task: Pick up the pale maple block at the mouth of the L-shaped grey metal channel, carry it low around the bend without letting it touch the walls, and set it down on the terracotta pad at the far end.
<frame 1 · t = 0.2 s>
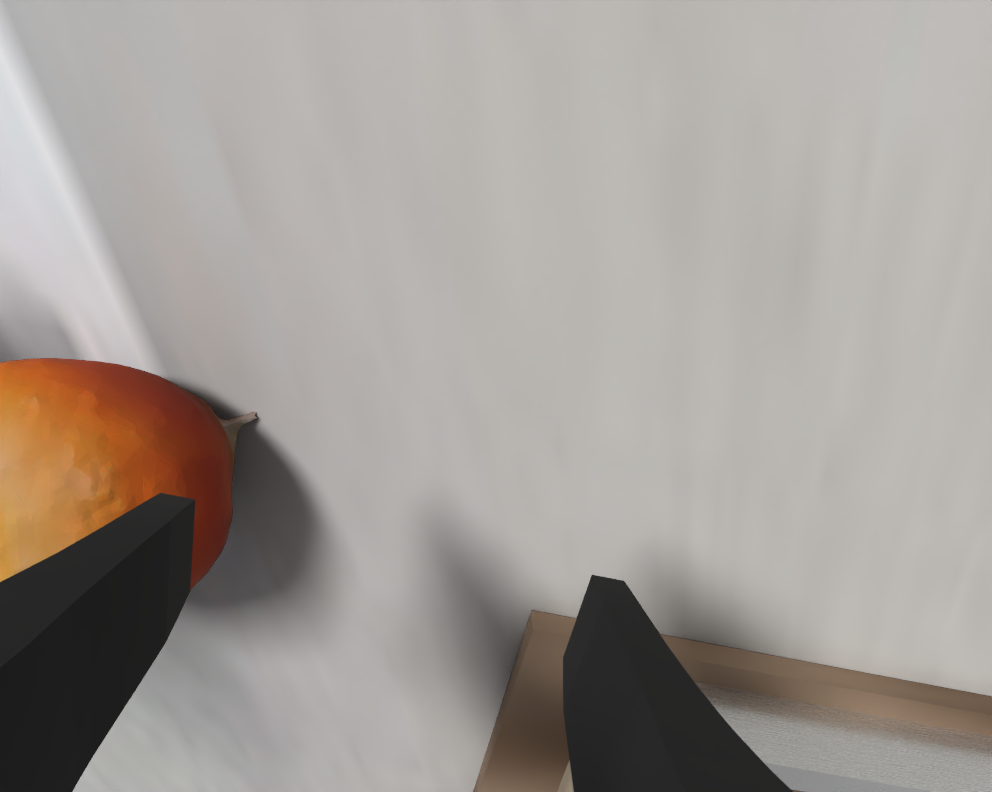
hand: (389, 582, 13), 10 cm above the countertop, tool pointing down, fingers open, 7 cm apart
fruit: (145, 433, 23), on the countertop
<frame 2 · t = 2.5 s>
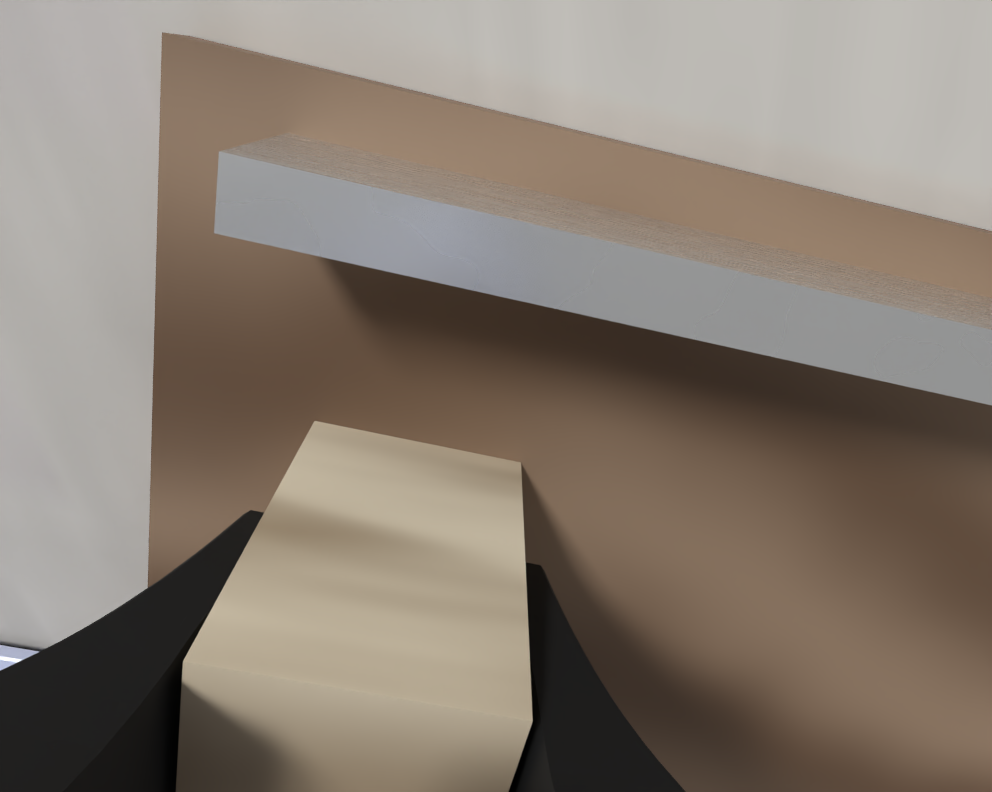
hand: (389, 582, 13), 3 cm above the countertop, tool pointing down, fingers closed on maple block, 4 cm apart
maple block: (401, 527, 14), point 1 cm above the countertop, touching gripper, walnut board
channel walls: (691, 765, 15), on the walnut board, point 2 cm above the countertop
walnut board: (842, 584, 16), on the countertop
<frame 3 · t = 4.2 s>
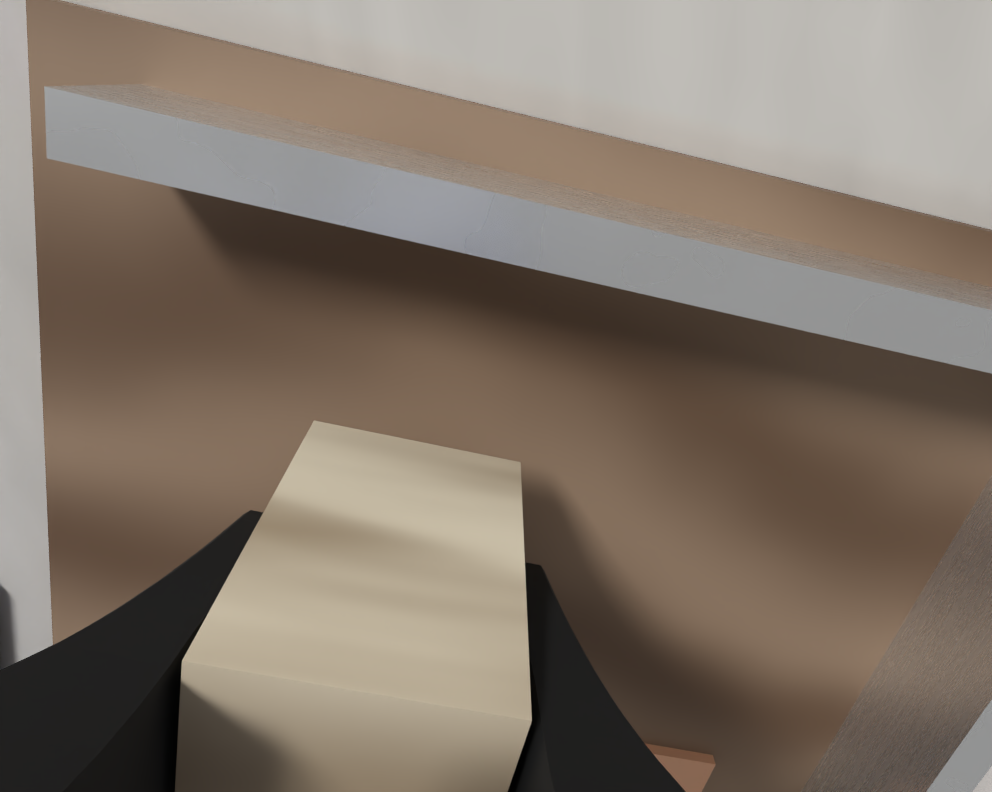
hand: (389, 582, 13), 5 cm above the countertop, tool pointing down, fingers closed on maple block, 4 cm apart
maple block: (401, 526, 14), point 3 cm above the countertop, touching gripper
channel walls: (538, 667, 17), on the walnut board, point 2 cm above the countertop
walnut board: (685, 509, 18), on the countertop
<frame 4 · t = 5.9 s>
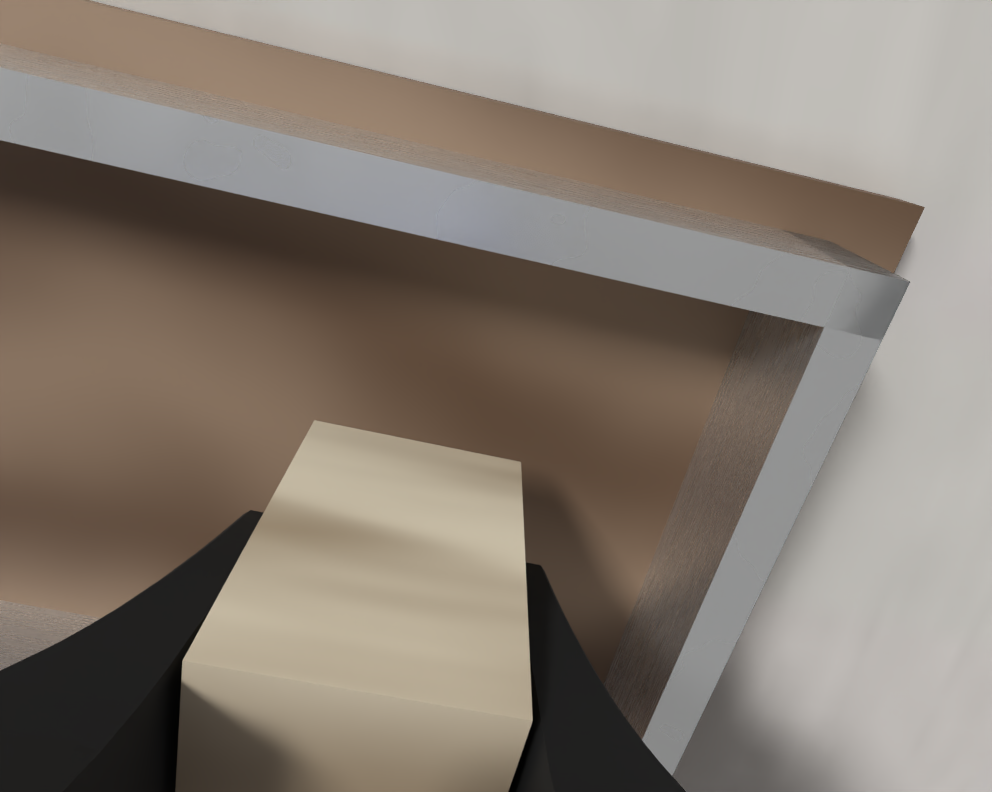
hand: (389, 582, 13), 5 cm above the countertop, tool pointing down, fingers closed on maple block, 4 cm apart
maple block: (401, 526, 14), point 3 cm above the countertop, touching gripper
channel walls: (248, 612, 16), on the walnut board, point 2 cm above the countertop
walnut board: (419, 451, 17), on the countertop
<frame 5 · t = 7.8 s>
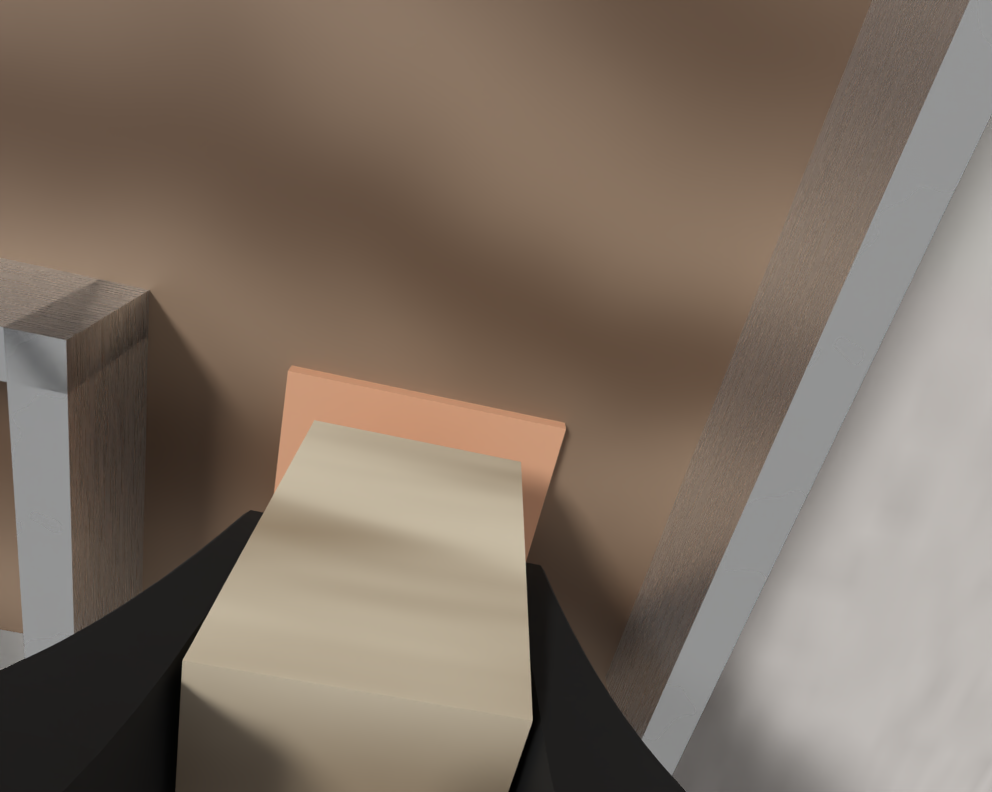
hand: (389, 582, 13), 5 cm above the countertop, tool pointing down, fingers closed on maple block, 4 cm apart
maple block: (401, 526, 14), point 3 cm above the countertop, touching gripper
channel walls: (289, 214, 12), on the walnut board, point 2 cm above the countertop
walnut board: (504, 43, 13), on the countertop
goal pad: (406, 508, 16), resting on walnut board
when the fingers open (4 cm above the countertop, at t = 9.4 s): maple block drops 1 cm, resting on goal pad.
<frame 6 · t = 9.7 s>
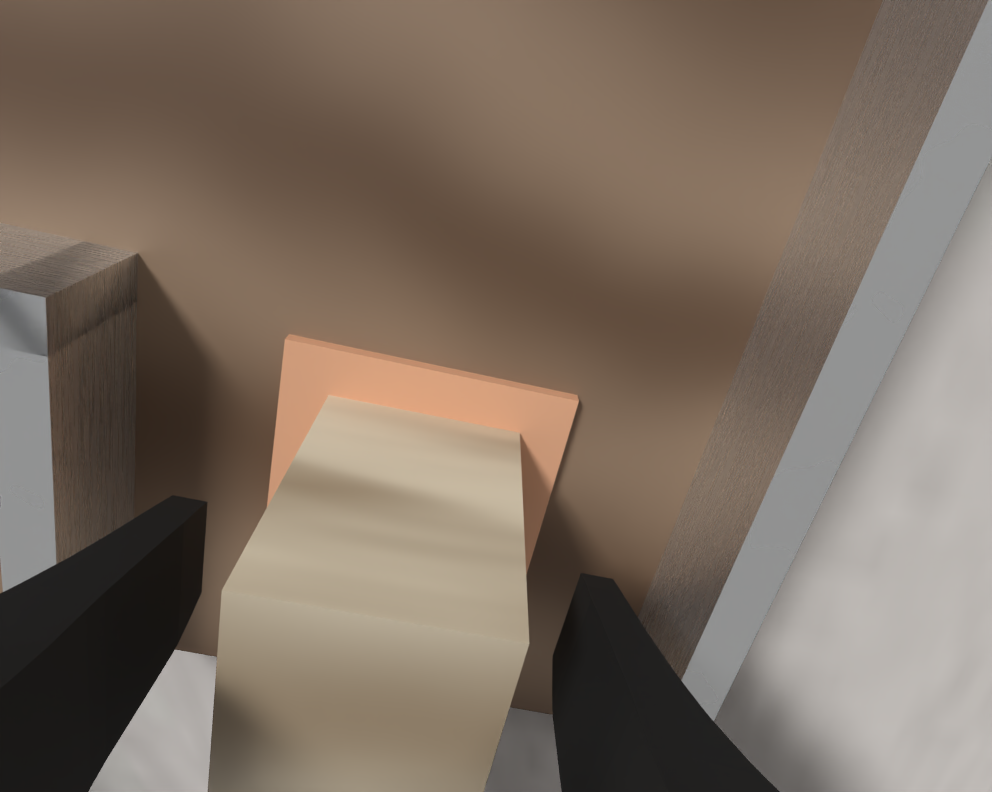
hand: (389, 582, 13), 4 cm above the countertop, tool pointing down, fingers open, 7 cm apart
maple block: (409, 494, 15), point 1 cm above the countertop, touching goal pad
channel walls: (285, 164, 11), on the walnut board, point 2 cm above the countertop
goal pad: (410, 487, 16), resting on walnut board
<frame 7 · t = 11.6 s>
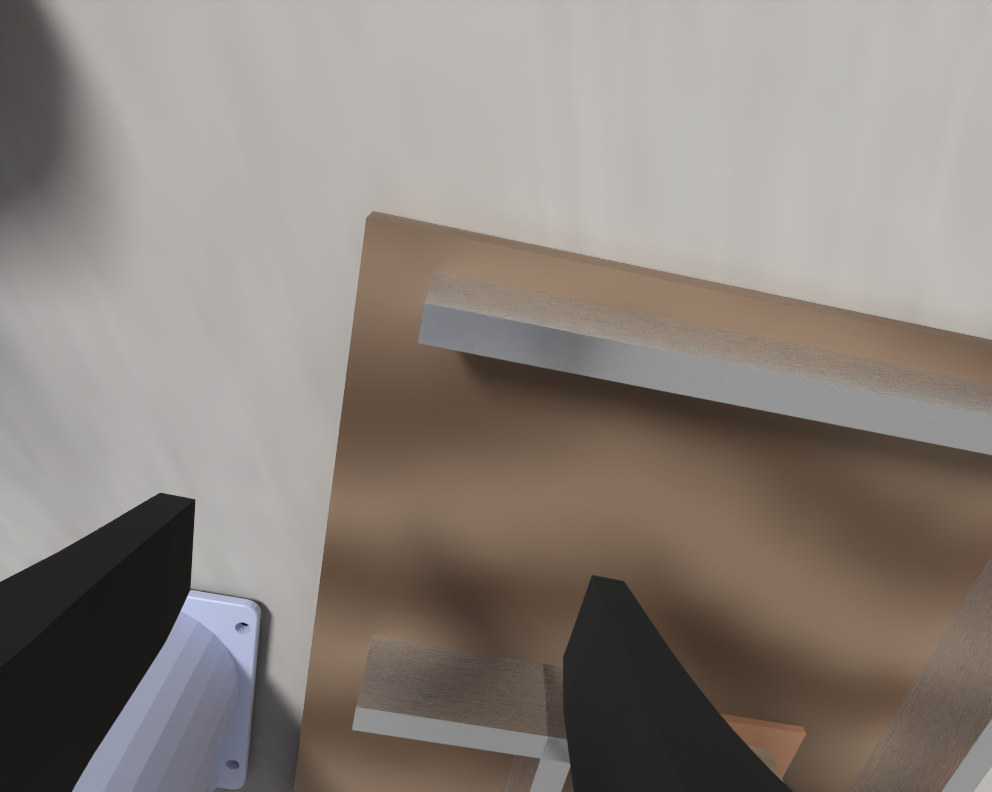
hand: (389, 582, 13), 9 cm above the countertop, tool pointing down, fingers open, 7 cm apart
maple block: (700, 777, 27), point 1 cm above the countertop, touching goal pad
channel walls: (685, 661, 23), on the walnut board, point 2 cm above the countertop
walnut board: (785, 541, 24), on the countertop
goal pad: (698, 770, 27), resting on walnut board
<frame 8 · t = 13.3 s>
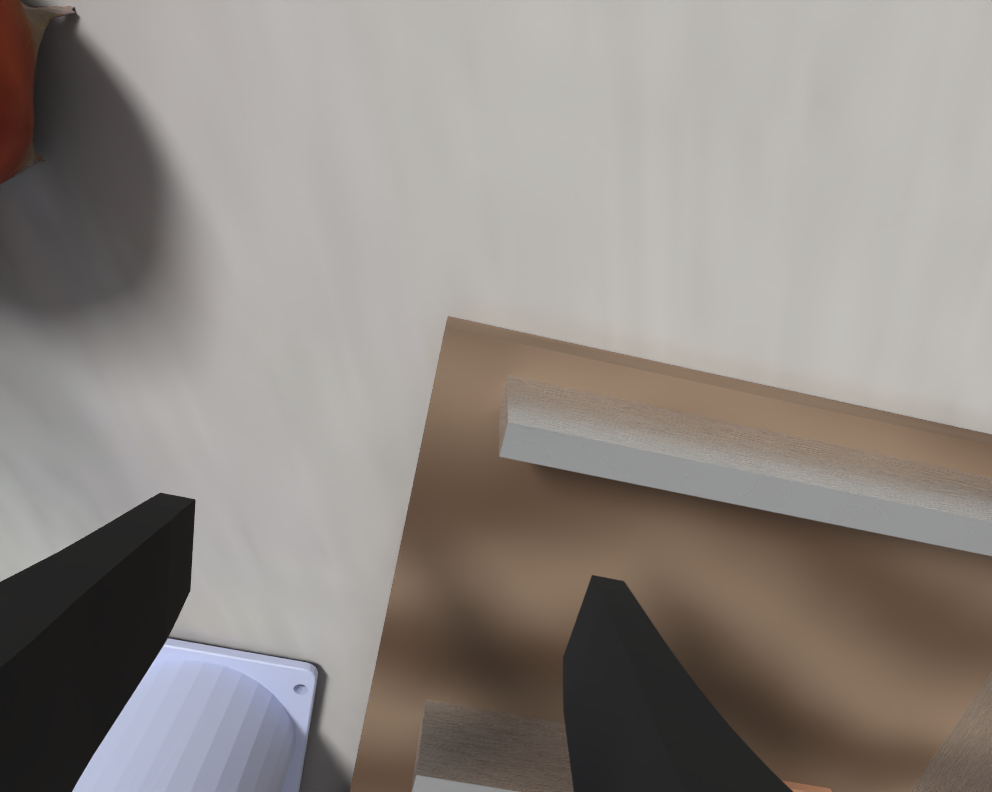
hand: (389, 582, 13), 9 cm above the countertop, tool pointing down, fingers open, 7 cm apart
channel walls: (725, 732, 24), on the walnut board, point 2 cm above the countertop
walnut board: (820, 618, 25), on the countertop
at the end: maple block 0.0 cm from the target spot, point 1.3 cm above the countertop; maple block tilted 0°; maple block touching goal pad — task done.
